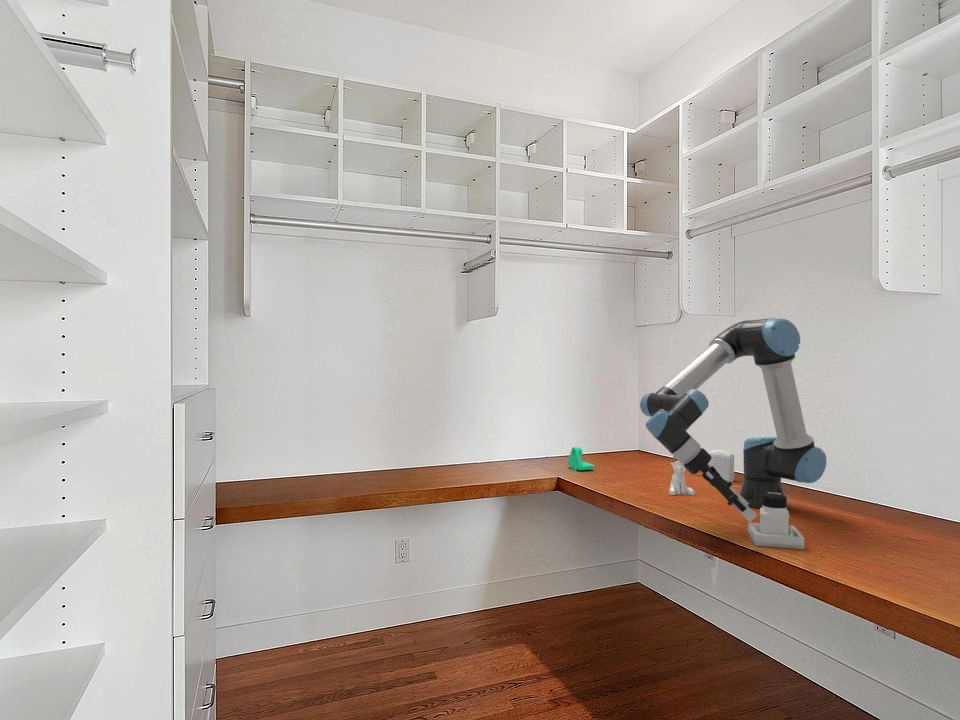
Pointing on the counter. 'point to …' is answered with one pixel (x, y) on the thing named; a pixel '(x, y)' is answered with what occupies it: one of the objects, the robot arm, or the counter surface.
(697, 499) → the counter surface
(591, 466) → the green angular piece
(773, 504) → the medicine bottle
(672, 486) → the white creature statuette
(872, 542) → the counter surface
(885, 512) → the counter surface
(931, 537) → the counter surface
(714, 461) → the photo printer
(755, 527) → the grey square tray
